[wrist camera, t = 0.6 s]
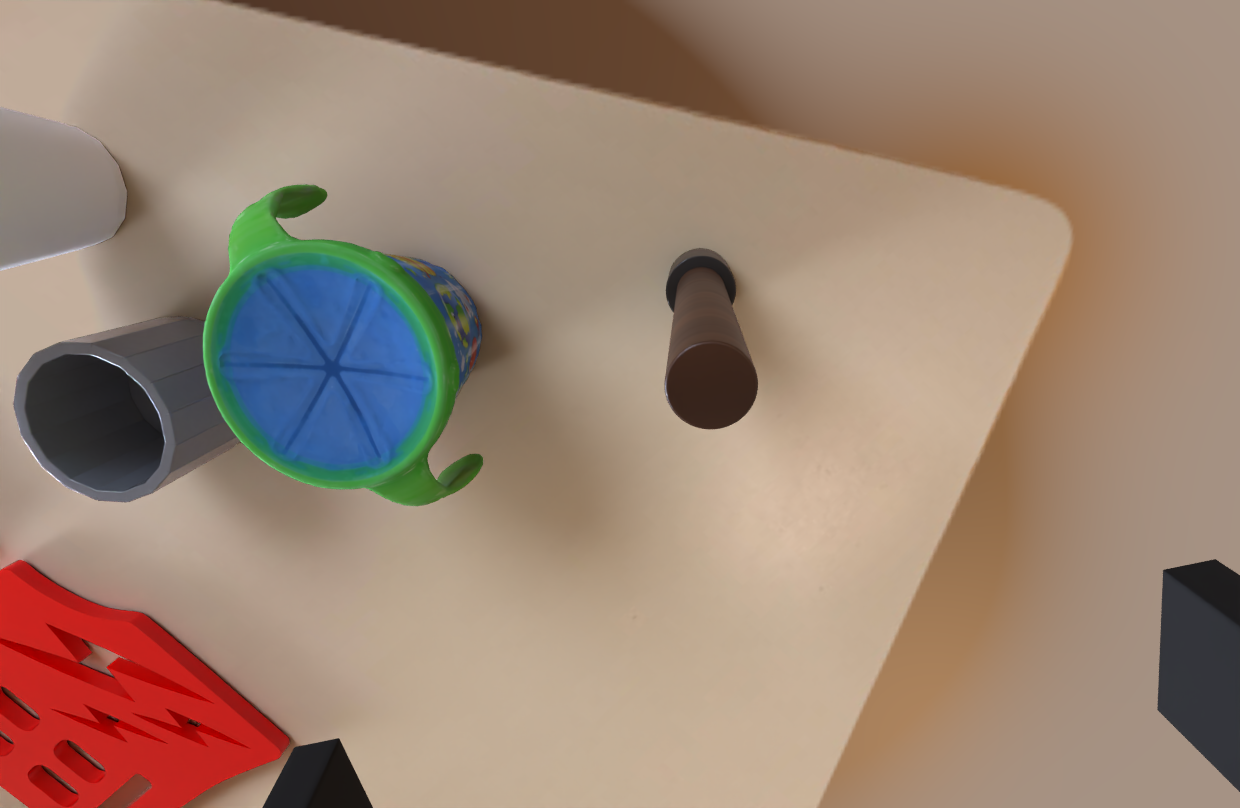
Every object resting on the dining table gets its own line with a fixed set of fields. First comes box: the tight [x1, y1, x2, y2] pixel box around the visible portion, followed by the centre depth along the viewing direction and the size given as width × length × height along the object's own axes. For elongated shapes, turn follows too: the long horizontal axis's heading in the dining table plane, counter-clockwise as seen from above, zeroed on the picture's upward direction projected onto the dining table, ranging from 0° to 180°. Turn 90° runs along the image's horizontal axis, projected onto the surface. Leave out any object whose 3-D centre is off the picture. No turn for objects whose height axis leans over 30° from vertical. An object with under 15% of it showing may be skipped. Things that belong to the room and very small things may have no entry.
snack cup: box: [203, 184, 483, 506], centre depth 33 cm, size 16×10×10 cm
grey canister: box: [13, 316, 241, 502], centre depth 36 cm, size 8×8×7 cm
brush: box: [665, 248, 758, 429], centre depth 26 cm, size 3×3×20 cm
